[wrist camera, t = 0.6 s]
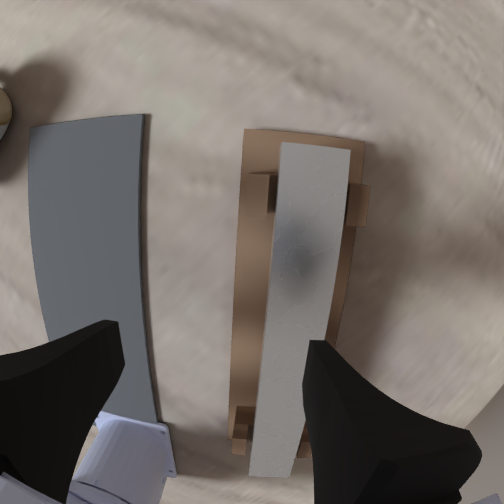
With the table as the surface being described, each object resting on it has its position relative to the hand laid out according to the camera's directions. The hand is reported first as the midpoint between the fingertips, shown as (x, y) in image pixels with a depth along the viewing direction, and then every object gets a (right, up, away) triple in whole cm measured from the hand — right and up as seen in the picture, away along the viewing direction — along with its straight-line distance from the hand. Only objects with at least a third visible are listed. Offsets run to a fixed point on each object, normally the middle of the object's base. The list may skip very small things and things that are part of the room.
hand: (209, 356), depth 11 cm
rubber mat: (-11, -1, +11) cm, 15 cm away
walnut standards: (+4, -1, +10) cm, 11 cm away
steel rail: (+4, -2, +7) cm, 8 cm away
